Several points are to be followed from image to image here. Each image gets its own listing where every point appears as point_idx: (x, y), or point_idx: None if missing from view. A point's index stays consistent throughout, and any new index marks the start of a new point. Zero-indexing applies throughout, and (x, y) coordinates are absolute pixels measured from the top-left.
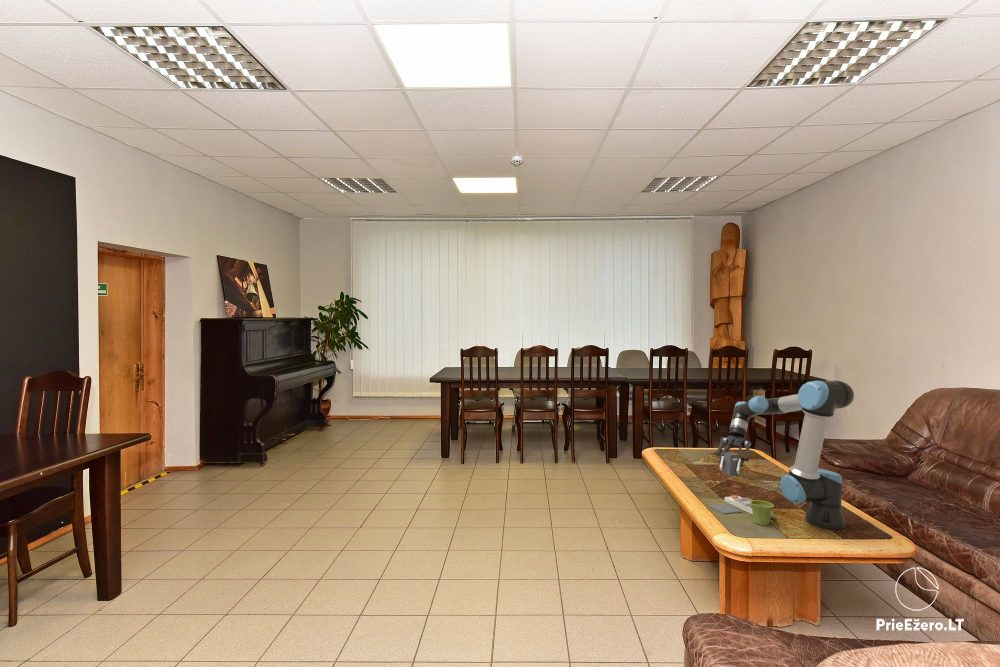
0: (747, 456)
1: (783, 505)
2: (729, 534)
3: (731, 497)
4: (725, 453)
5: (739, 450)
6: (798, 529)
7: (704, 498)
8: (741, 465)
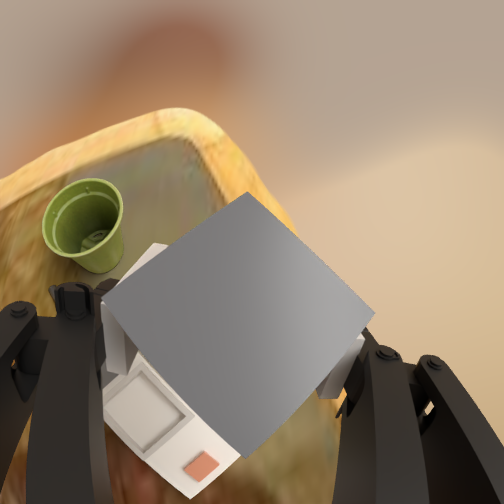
0: (2, 320)
1: None
2: (198, 138)
3: (214, 458)
4: (342, 283)
5: (83, 438)
6: (16, 250)
7: (320, 433)
8: (114, 280)
